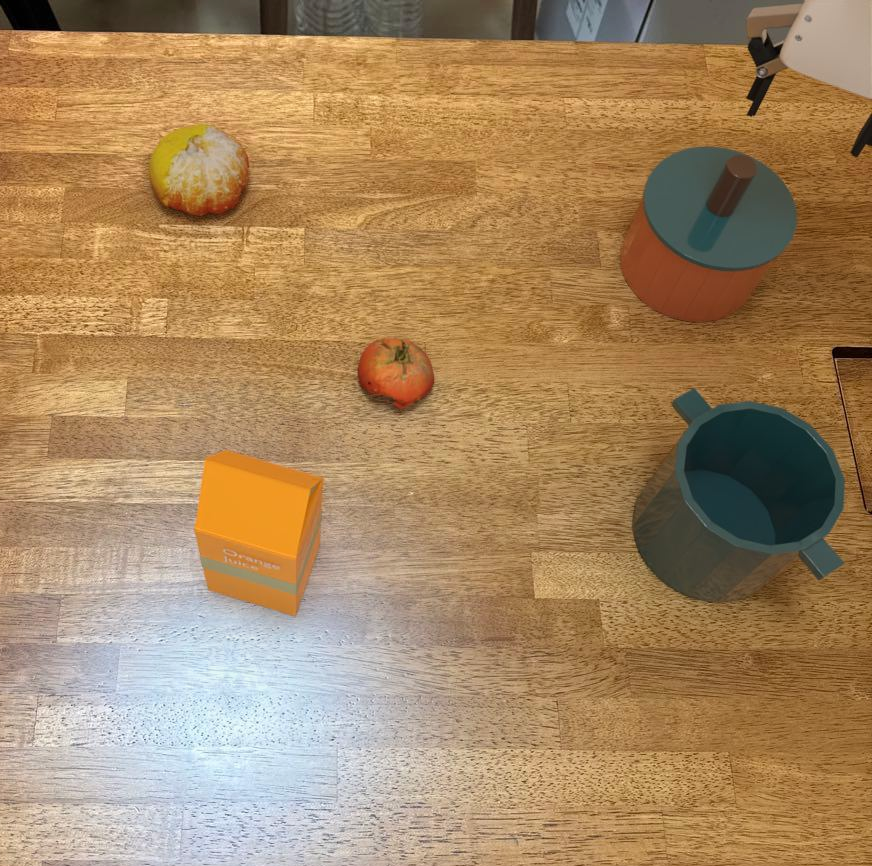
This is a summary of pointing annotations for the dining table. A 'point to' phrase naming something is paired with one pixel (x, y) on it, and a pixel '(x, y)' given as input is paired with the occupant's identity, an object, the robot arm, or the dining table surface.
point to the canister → (681, 278)
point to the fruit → (199, 170)
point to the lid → (719, 208)
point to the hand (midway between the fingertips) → (805, 126)
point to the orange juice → (258, 529)
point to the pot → (739, 501)
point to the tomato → (396, 371)
